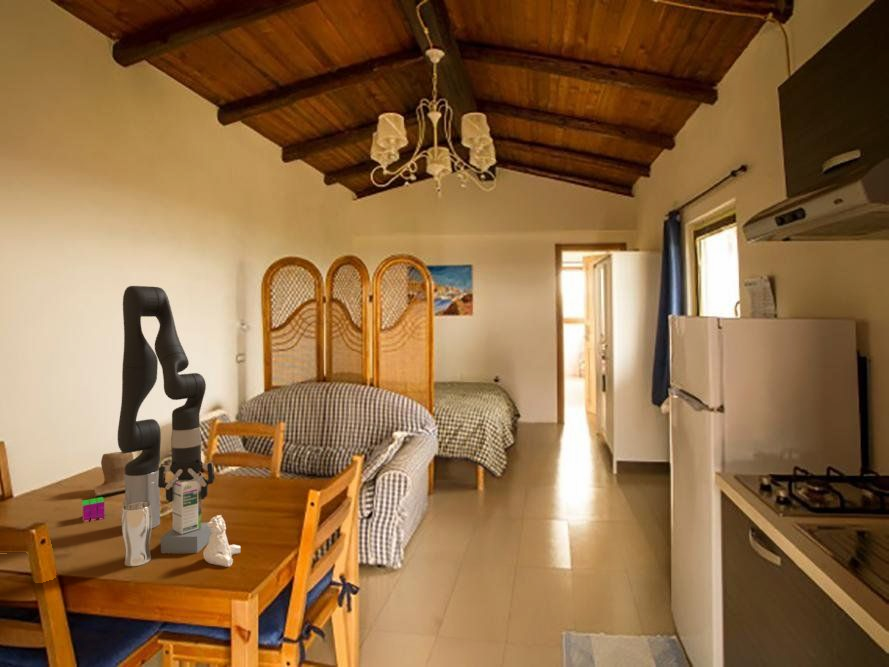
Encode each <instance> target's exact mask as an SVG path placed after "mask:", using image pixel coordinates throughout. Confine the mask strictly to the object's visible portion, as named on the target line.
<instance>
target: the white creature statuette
mask: <svg viewBox="0 0 889 667" xmlns="http://www.w3.org/2000/svg"><path fill="white" fill-rule="evenodd" d="M207 526H208V527H209V529H210V530H211V532H212V535H210V537H209V541H208V543H207V544H206V547H204V549H203V551H202V552H203V553H202V554H203V558H204V561H205V562H207V563H208V564H211V565H215V566H222V567H225V568H228V567H231V566H232V565H233V563H234V559H233V558H232V556H233V555H238V554H241V545H238V544H234V543H233V544H229V541H228V537H227V534H226V530H227V527H226V521H225V520H224V518H223V517H222V514H220V515H219V514H217V515H215V516H213V517H212V518H210V520H209V523H207Z"/></svg>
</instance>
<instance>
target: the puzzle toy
mask: <svg viewBox="0 0 889 667" xmlns="http://www.w3.org/2000/svg"><path fill="white" fill-rule="evenodd" d="M81 509H82V510H81V511H82V516H83V518H82V522H83V521H85V520H90V518H91V519H97V520H98V518H104V517H105V516H106V515H105V500H104V497H103V496H99V497H96V498H95V497H94V498H91V499H84V500H81ZM97 516H98V518H97ZM90 521H91V520H90Z"/></svg>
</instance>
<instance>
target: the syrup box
mask: <svg viewBox="0 0 889 667" xmlns="http://www.w3.org/2000/svg"><path fill="white" fill-rule="evenodd" d="M201 487H202V485H201V484H200V483H199V482H198V481H197V480H196V479H195V478H193V479H191V480H189V479H185V480H179V479H178V478H177V480H176V481H175V482H174V483H173V485H172V489H173V490H172V491H173V501H172V528H173V530H175V531H176V532H178V533H180V534H184V533H187V532H190V531H194V530H197V529H201V523H202V499H201Z"/></svg>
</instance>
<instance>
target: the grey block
mask: <svg viewBox="0 0 889 667" xmlns="http://www.w3.org/2000/svg"><path fill="white" fill-rule="evenodd" d="M207 523H209V522H208V521H207V522H201V529H197V530H194V531H190V532H187V533H184V534H180V533H178V532H176V531H175V530H173V527H171V528H170V529H169V530H168V531H166V532H165V533H164V534H162V535H161V536H160V554H161V553H163V554H164V553H168V555H169V553H172V554H198V553H199V552H200V551H201V550H202V549H203V548H205V546H207V545H208V541H209V537H210V535H212V532H211V530H210V529H209V527H208V526H207Z"/></svg>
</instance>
